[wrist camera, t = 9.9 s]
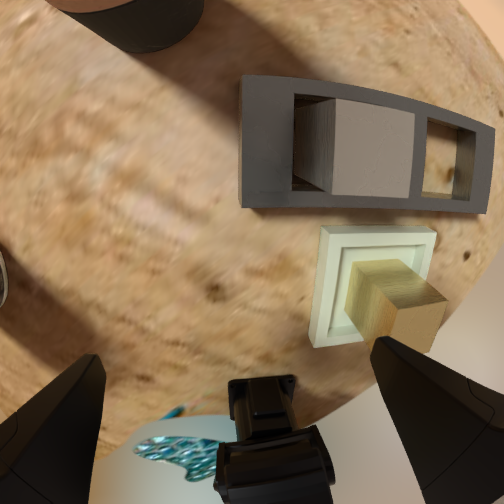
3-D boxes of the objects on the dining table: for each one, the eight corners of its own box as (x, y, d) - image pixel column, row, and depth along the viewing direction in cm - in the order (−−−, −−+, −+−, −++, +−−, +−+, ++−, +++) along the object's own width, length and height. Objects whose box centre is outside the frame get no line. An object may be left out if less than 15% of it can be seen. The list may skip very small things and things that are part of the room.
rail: (469, 206, 22) (485, 214, 20) (238, 199, 20) (241, 208, 17) (477, 126, 19) (495, 128, 17) (239, 81, 17) (242, 74, 14)
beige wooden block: (398, 258, 23) (448, 300, 16) (387, 304, 24) (428, 351, 18) (352, 261, 22) (397, 310, 16) (343, 310, 24) (380, 364, 17)
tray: (400, 321, 26) (409, 331, 24) (307, 335, 25) (313, 348, 23) (424, 225, 22) (436, 232, 21) (321, 225, 21) (329, 233, 19)
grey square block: (352, 176, 20) (408, 198, 14) (293, 173, 20) (331, 194, 13) (355, 115, 18) (414, 113, 12) (295, 109, 18) (336, 98, 11)
